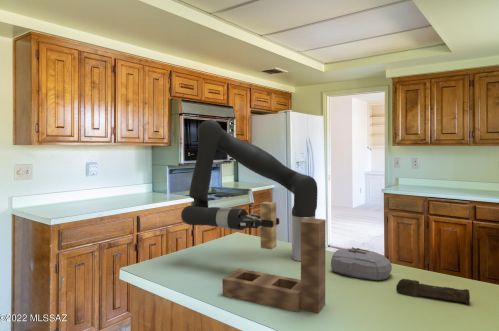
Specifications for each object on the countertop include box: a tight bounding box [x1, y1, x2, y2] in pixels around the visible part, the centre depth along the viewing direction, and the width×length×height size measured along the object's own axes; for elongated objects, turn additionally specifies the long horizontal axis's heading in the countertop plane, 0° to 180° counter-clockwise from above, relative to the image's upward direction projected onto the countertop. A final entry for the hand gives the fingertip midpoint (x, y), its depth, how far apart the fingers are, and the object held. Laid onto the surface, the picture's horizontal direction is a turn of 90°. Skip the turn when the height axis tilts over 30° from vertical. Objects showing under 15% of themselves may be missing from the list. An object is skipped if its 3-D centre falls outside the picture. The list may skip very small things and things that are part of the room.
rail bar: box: [259, 201, 278, 250], centre depth 120 cm, size 4×4×15 cm
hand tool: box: [395, 278, 471, 306], centre depth 105 cm, size 19×4×5 cm, turn 63°
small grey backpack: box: [330, 246, 393, 281], centre depth 125 cm, size 15×8×20 cm
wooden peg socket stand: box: [222, 218, 327, 314], centre depth 104 cm, size 29×10×24 cm, turn 61°
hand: (275, 222), depth 119 cm, fingers closed on rail bar, 4 cm apart
